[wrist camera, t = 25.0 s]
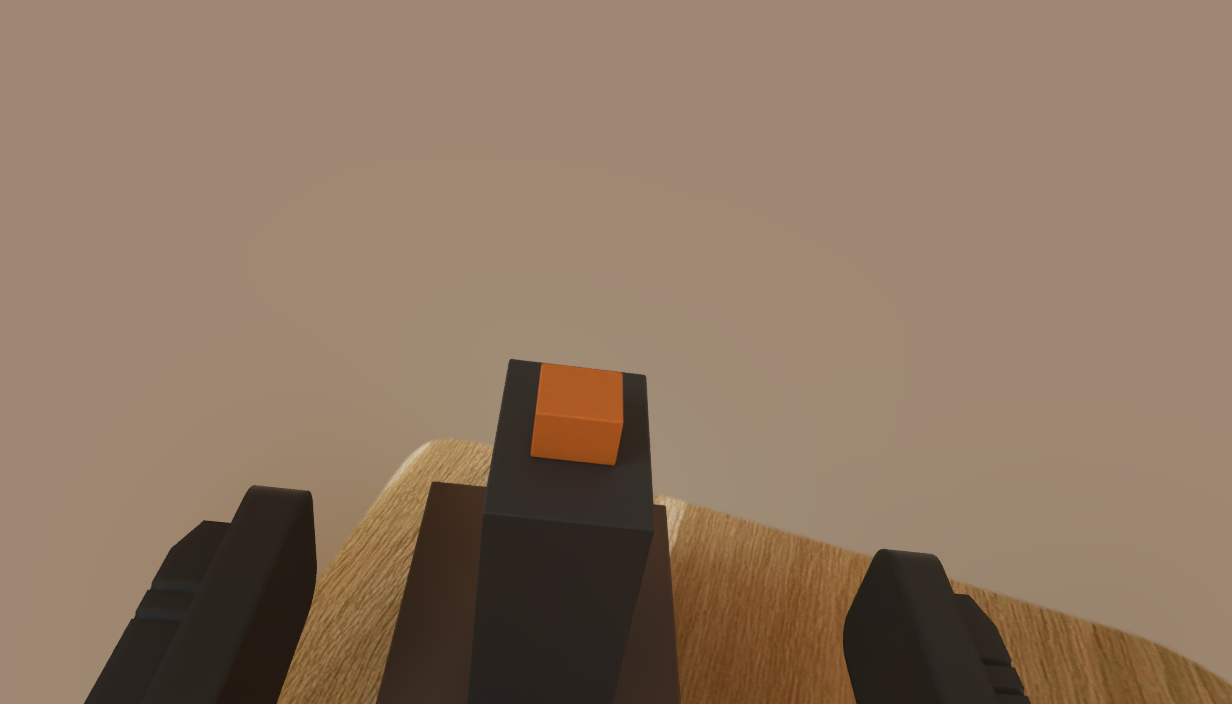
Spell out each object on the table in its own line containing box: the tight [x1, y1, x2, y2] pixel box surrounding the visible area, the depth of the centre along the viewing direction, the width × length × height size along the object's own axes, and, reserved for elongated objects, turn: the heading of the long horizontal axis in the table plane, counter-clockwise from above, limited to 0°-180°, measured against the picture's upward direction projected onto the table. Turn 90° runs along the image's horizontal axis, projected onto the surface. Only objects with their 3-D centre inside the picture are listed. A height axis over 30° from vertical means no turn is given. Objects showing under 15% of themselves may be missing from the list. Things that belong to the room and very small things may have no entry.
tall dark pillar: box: [466, 359, 655, 704], centre depth 28 cm, size 4×7×14 cm, turn 0°
